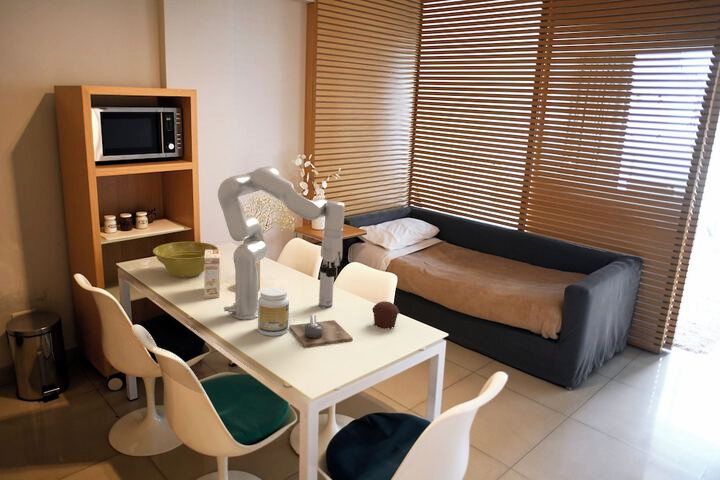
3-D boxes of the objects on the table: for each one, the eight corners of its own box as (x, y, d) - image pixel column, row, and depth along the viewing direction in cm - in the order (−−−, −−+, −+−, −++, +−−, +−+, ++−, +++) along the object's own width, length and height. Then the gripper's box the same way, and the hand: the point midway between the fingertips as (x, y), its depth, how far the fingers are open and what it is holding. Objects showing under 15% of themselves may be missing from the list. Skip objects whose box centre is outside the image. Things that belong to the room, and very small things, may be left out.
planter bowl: (181, 288, 254) (180, 261, 251) (140, 274, 271) (139, 248, 268) (231, 273, 281) (231, 249, 278) (190, 261, 298) (190, 238, 294)
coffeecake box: (219, 298, 245) (219, 257, 240) (203, 298, 243) (203, 257, 239) (220, 287, 259) (220, 249, 254) (205, 287, 257) (204, 249, 253)
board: (304, 347, 200) (304, 344, 200) (289, 328, 216) (289, 325, 216) (352, 340, 208) (352, 337, 208) (334, 322, 225) (334, 319, 225)
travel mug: (331, 309, 240) (333, 267, 235) (317, 307, 241) (319, 265, 237) (334, 304, 246) (336, 263, 241) (320, 302, 247) (322, 261, 243)
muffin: (365, 324, 226) (367, 302, 223) (381, 317, 234) (383, 296, 232) (388, 332, 218) (389, 310, 216) (403, 325, 227) (405, 303, 224)
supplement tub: (292, 334, 211) (294, 294, 207) (263, 339, 205) (264, 298, 201) (281, 323, 221) (282, 284, 217) (253, 327, 215) (254, 288, 211)
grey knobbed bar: (322, 338, 205) (323, 328, 204) (304, 338, 204) (305, 328, 203) (321, 322, 221) (321, 312, 220) (304, 321, 220) (304, 312, 219)
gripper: (316, 228, 213) (313, 271, 218) (334, 237, 201) (331, 283, 206) (332, 227, 217) (329, 270, 222) (351, 236, 205) (347, 281, 210)
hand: (330, 276), depth 214 cm, fingers closed
